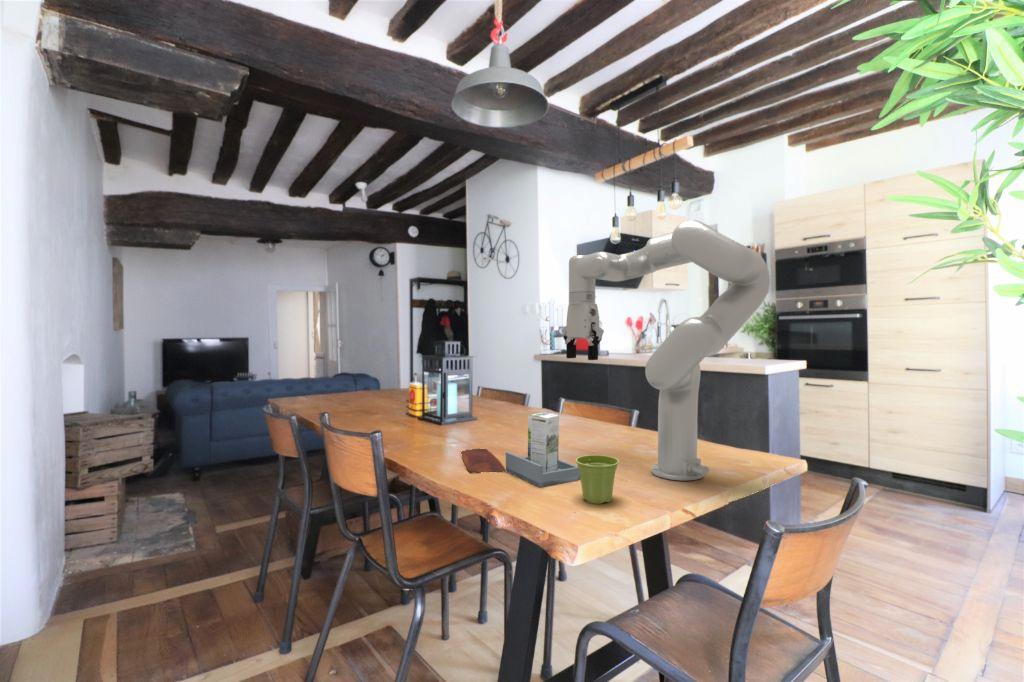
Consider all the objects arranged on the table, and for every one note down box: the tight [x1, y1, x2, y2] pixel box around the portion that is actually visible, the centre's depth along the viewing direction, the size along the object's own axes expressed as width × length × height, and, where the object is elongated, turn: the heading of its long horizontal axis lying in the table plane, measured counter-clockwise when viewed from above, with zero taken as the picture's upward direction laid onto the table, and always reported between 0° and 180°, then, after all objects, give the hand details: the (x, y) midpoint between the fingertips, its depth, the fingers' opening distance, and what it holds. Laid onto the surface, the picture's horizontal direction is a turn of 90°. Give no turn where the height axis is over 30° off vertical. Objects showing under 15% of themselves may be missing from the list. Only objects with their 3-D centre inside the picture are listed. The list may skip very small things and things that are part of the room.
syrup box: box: [527, 412, 560, 473], centre depth 128 cm, size 6×6×14 cm
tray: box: [505, 451, 581, 488], centre depth 129 cm, size 16×12×5 cm
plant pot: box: [575, 454, 620, 505], centre depth 111 cm, size 9×9×9 cm
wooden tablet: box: [460, 448, 506, 474], centre depth 144 cm, size 27×10×2 cm, turn 12°
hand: (581, 359), depth 146 cm, fingers open, 9 cm apart
